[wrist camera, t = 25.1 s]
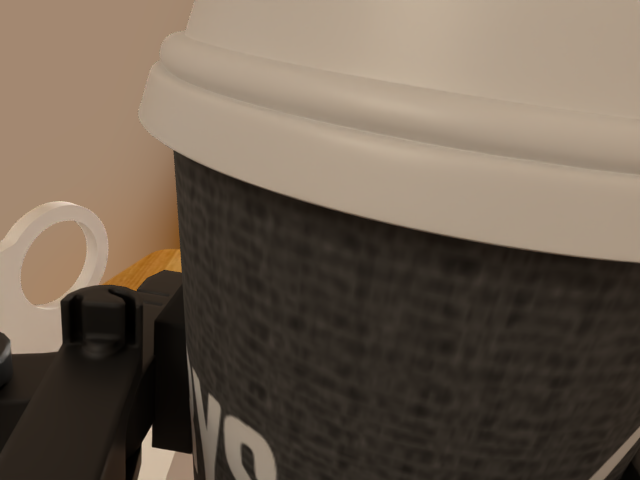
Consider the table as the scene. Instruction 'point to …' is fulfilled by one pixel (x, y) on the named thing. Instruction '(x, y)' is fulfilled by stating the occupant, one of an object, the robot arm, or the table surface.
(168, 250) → the table surface
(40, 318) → the white stand
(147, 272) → the table surface
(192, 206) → the coffee cup
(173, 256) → the table surface
